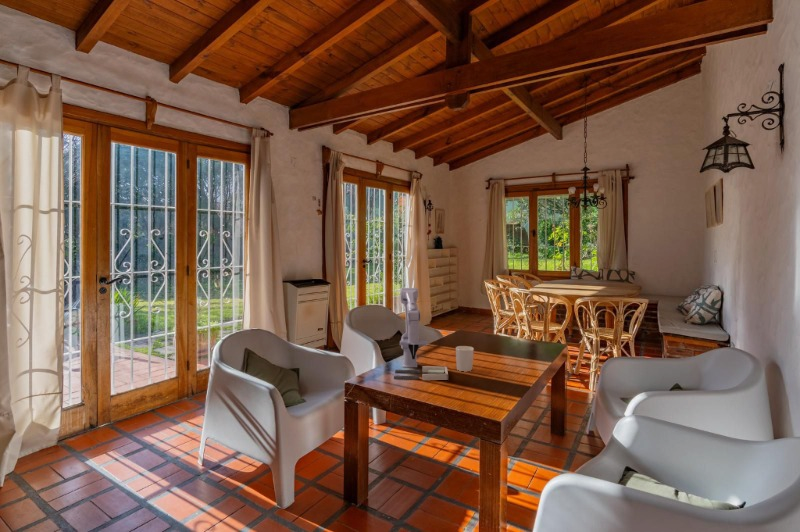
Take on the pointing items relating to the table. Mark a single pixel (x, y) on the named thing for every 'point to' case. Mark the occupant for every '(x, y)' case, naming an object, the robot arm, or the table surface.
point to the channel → (406, 372)
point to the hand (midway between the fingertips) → (413, 358)
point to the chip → (439, 371)
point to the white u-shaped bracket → (434, 376)
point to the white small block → (431, 371)
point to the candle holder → (464, 358)
